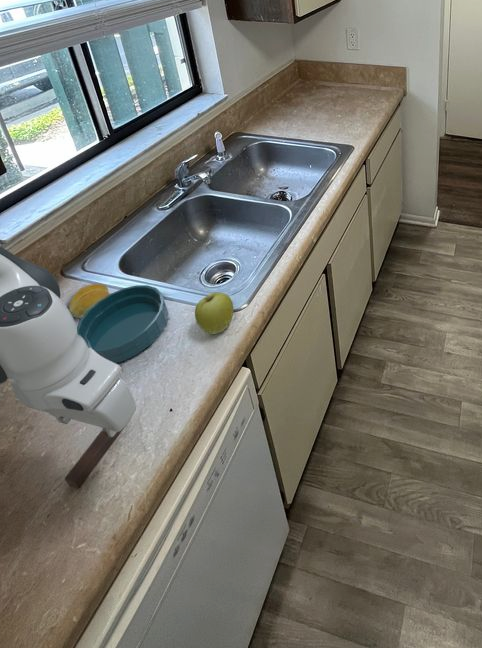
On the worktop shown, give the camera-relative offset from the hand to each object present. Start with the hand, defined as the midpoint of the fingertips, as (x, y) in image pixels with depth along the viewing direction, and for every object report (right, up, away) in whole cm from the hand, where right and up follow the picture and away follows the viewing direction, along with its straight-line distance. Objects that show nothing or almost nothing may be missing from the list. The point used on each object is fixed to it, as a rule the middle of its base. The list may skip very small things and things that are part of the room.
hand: (90, 425), depth 74 cm
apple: (+10, +3, +28) cm, 30 cm away
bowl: (-10, +3, +26) cm, 28 cm away
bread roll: (-23, +6, +33) cm, 41 cm away
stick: (0, -8, +4) cm, 9 cm away
